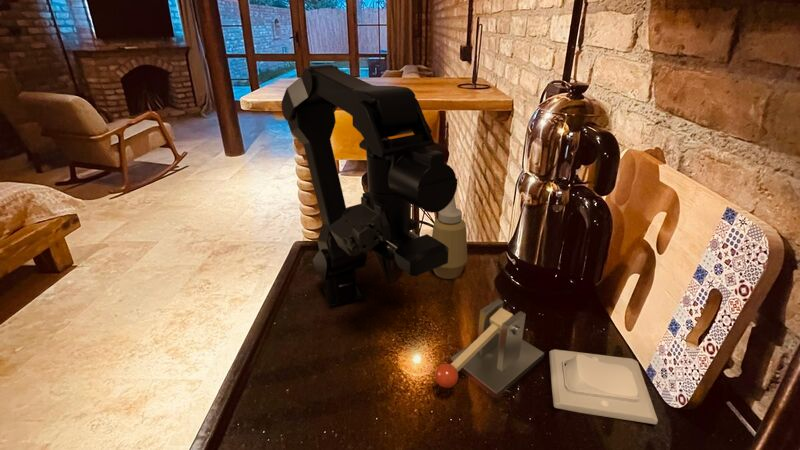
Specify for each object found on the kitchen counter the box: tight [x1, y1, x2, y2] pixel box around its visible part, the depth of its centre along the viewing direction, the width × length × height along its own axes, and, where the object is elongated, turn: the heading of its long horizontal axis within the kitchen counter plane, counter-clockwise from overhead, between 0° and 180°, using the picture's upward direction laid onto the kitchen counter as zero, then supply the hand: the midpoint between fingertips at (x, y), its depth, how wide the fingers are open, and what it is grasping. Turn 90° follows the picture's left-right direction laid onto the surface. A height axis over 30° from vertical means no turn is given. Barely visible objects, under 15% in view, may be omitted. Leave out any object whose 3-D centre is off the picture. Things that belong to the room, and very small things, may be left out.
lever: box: [434, 307, 514, 389], centre depth 58 cm, size 15×3×3 cm, turn 130°
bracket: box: [449, 298, 545, 400], centre depth 62 cm, size 12×9×10 cm
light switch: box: [548, 349, 659, 425], centre depth 59 cm, size 11×4×13 cm
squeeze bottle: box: [431, 196, 468, 280], centre depth 84 cm, size 8×8×18 cm
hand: (392, 283), depth 61 cm, fingers closed
